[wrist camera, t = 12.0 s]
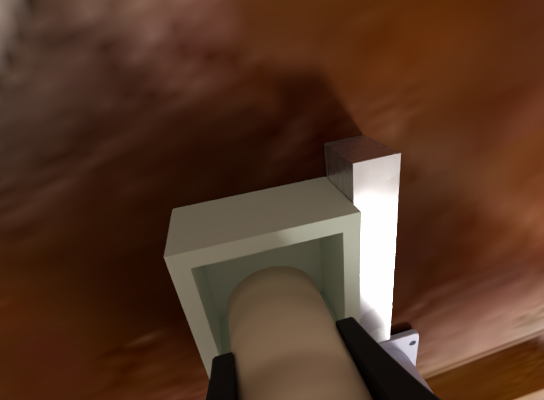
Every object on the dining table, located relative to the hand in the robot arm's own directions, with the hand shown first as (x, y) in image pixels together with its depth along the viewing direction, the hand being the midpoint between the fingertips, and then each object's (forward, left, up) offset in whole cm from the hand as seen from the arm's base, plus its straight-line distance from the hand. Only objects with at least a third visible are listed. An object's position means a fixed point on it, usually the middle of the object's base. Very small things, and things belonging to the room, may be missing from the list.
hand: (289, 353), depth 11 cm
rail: (0, -5, -6) cm, 8 cm away
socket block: (0, 0, -6) cm, 6 cm away
